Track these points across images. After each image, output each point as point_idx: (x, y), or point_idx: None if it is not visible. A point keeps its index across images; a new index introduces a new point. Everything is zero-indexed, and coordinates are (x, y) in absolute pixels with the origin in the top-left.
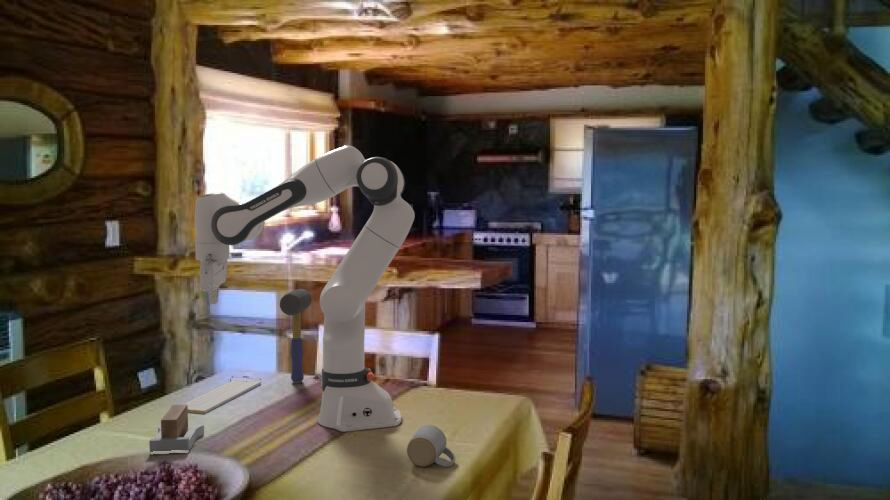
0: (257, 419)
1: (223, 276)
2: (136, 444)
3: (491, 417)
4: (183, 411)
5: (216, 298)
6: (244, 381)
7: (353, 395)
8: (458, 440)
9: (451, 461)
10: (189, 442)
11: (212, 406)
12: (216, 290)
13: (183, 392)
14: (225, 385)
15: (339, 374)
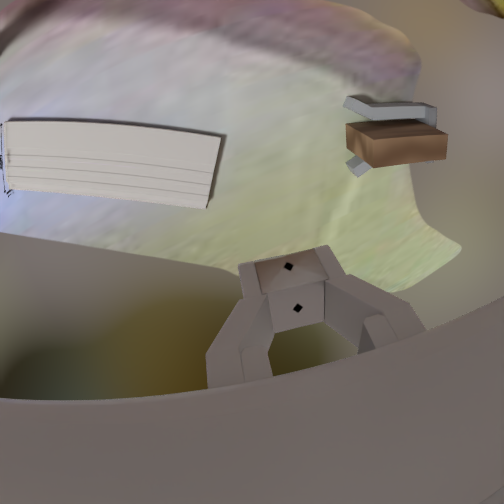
0: (255, 15)
1: (63, 476)
2: (378, 189)
3: None
4: (403, 136)
5: (335, 268)
6: (11, 156)
7: None
8: None
9: None
10: (420, 105)
11: (188, 134)
12: (387, 318)
13: (92, 241)
14: (43, 180)
15: None
